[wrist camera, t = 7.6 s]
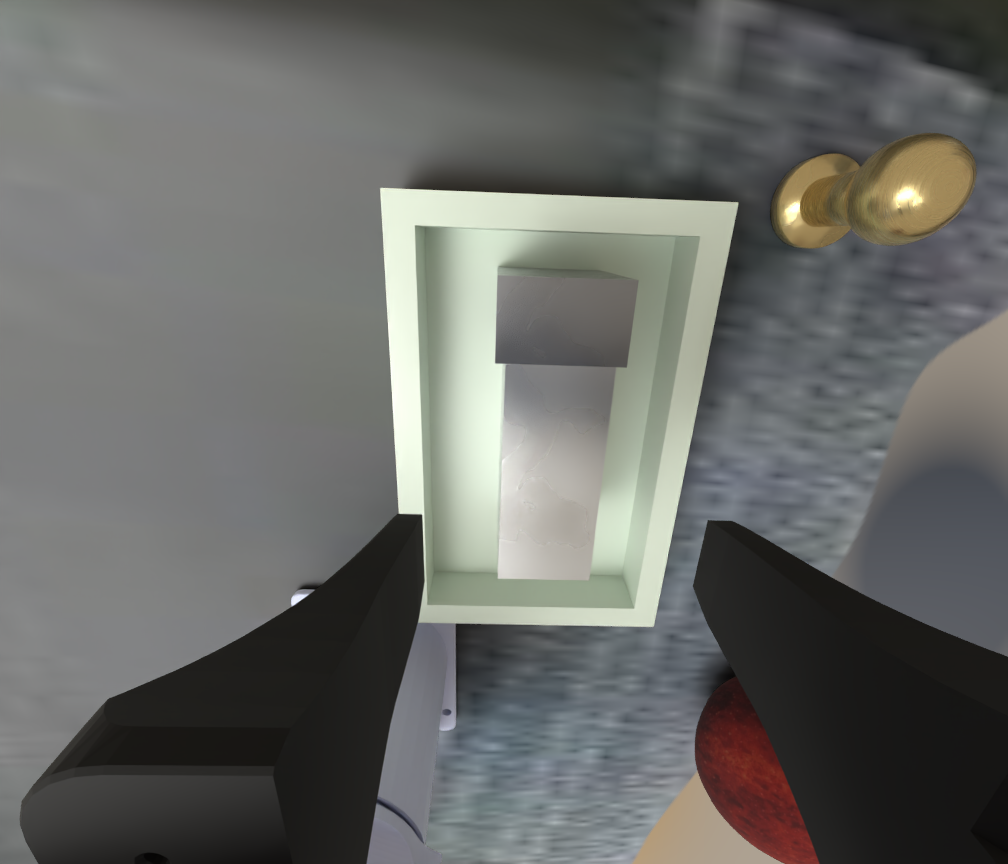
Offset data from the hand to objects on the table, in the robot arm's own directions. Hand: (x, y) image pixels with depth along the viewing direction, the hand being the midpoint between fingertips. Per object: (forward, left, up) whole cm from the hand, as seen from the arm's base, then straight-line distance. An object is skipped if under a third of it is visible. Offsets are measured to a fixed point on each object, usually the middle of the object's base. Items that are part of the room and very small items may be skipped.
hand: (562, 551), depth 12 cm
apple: (-16, -13, -9) cm, 22 cm away
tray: (0, 0, -9) cm, 9 cm away
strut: (+1, 0, -8) cm, 8 cm away
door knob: (+9, -10, -9) cm, 16 cm away
